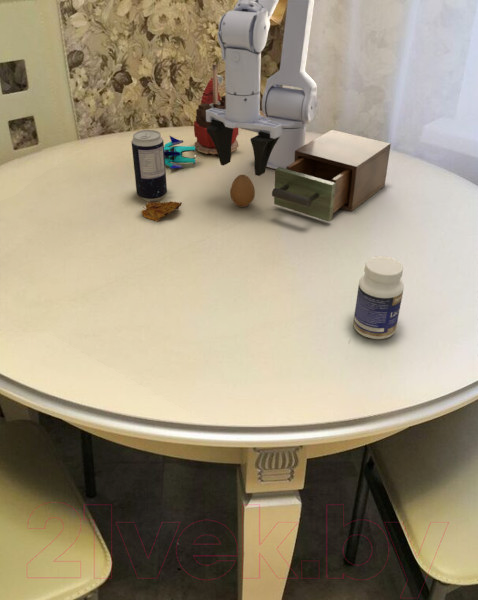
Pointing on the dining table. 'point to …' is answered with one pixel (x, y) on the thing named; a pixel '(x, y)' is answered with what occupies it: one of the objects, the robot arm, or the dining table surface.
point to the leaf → (159, 209)
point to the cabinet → (352, 161)
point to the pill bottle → (379, 298)
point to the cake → (200, 125)
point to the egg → (242, 191)
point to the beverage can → (149, 165)
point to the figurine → (177, 153)
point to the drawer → (312, 187)
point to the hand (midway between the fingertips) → (242, 168)
